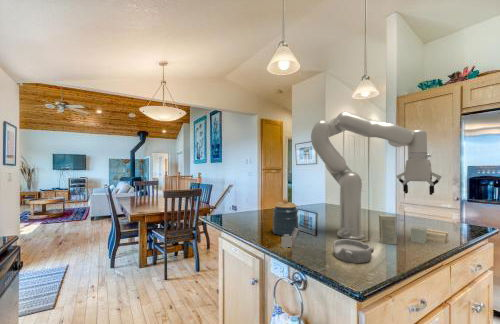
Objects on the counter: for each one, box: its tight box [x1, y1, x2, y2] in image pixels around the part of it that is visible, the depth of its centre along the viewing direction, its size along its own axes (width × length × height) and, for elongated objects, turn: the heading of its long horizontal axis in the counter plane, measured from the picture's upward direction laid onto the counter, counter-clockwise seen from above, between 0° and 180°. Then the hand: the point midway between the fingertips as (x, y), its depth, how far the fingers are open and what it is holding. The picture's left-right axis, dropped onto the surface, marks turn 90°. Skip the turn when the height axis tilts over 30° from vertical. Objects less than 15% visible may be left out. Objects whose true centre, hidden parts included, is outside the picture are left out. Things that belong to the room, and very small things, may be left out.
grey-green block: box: [410, 226, 428, 245], centre depth 115 cm, size 5×5×6 cm
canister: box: [272, 198, 299, 237], centre depth 127 cm, size 13×13×18 cm
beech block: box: [426, 228, 449, 245], centre depth 116 cm, size 8×8×4 cm
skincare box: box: [378, 214, 397, 245], centre depth 112 cm, size 6×4×12 cm
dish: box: [332, 238, 375, 264], centre depth 94 cm, size 14×14×5 cm
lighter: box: [280, 228, 300, 249], centre depth 105 cm, size 7×2×8 cm, turn 99°
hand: (418, 193), depth 116 cm, fingers open, 9 cm apart
